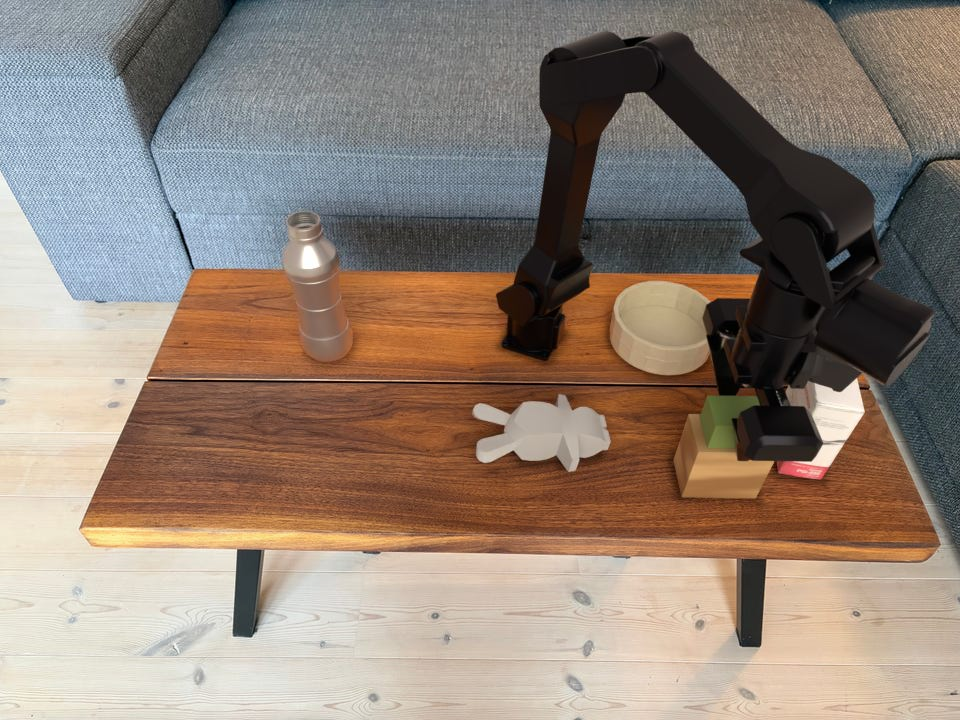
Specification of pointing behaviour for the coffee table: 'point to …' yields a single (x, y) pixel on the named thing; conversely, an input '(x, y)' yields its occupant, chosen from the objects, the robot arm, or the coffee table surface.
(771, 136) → the robot arm
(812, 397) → the ink box
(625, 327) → the bowl
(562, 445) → the bunny figurine
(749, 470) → the block
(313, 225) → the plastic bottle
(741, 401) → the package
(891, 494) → the coffee table surface
